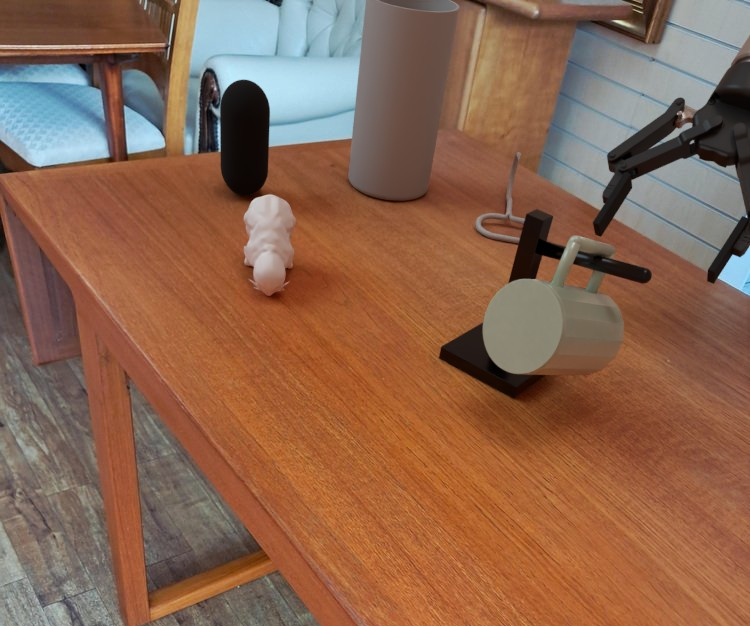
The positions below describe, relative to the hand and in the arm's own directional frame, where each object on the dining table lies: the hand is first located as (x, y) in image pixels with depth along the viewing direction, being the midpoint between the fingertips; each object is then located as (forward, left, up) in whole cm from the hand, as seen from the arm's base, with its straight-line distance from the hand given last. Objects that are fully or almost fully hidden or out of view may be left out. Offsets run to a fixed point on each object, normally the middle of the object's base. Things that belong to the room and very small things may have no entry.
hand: (651, 253), depth 86 cm
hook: (+36, -11, -12) cm, 39 cm away
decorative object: (+52, +25, -12) cm, 59 cm away
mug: (-6, +22, +1) cm, 23 cm away
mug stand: (-1, +14, -12) cm, 19 cm away
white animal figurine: (+28, +32, -12) cm, 44 cm away
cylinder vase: (+50, +2, -12) cm, 51 cm away
